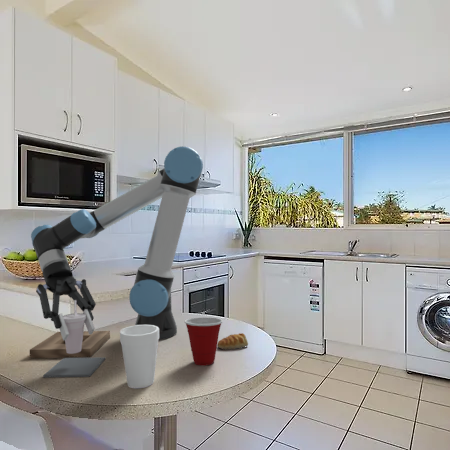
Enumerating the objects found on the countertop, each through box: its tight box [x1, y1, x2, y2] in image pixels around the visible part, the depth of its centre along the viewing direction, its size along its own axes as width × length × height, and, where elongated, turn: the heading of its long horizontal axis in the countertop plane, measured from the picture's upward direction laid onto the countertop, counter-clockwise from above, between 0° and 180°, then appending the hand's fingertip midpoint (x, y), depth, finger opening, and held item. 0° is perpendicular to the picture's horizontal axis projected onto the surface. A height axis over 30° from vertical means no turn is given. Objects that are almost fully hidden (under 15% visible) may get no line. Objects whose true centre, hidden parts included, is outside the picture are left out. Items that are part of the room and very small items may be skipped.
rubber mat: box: [42, 356, 106, 378], centre depth 99 cm, size 12×12×1 cm
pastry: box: [217, 332, 249, 350], centre depth 115 cm, size 9×7×4 cm
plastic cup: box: [184, 316, 223, 367], centre depth 102 cm, size 11×11×12 cm
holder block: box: [29, 330, 111, 359], centre depth 116 cm, size 18×18×2 cm
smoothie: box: [63, 300, 86, 354], centre depth 99 cm, size 6×6×14 cm
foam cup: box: [119, 324, 160, 389], centre depth 89 cm, size 10×9×13 cm
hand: (79, 334), depth 96 cm, fingers closed on smoothie, 6 cm apart
